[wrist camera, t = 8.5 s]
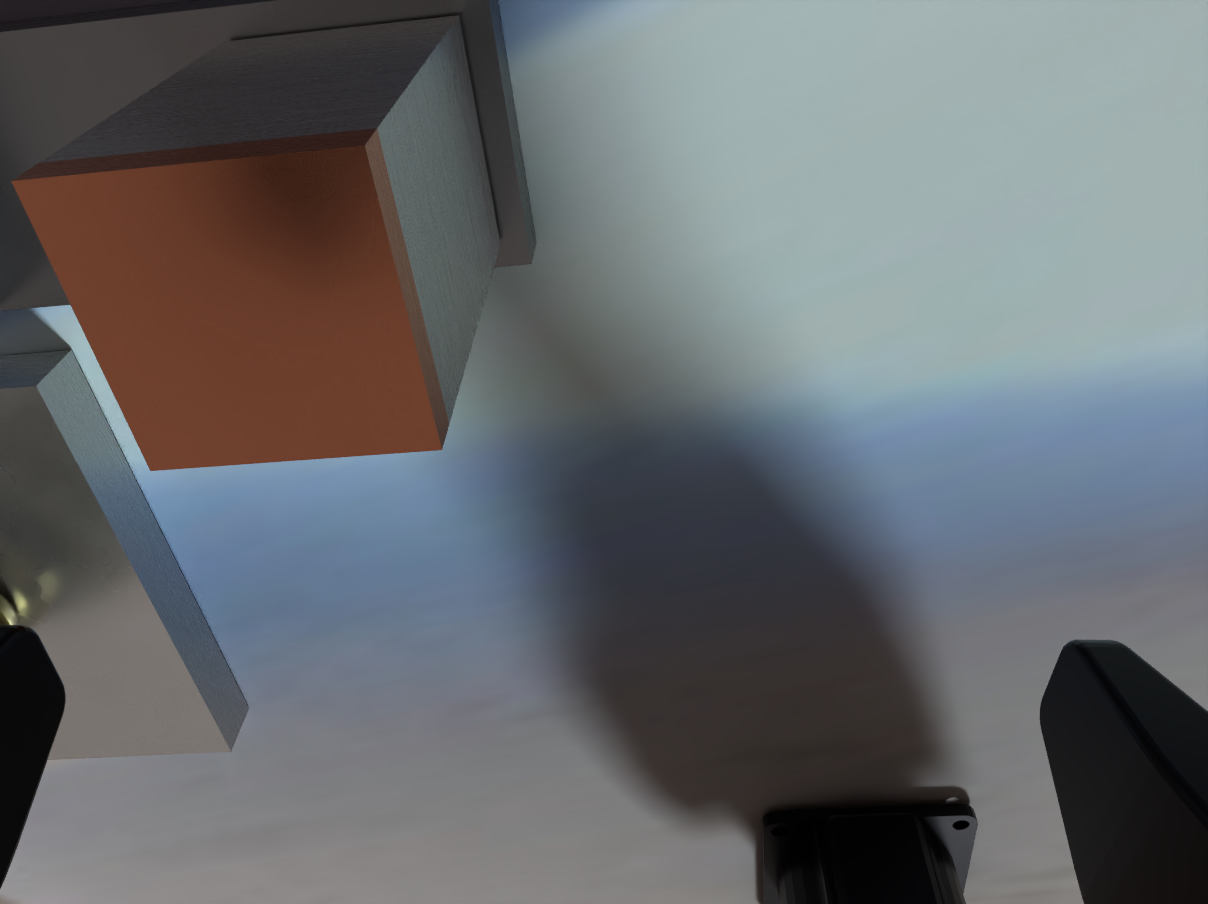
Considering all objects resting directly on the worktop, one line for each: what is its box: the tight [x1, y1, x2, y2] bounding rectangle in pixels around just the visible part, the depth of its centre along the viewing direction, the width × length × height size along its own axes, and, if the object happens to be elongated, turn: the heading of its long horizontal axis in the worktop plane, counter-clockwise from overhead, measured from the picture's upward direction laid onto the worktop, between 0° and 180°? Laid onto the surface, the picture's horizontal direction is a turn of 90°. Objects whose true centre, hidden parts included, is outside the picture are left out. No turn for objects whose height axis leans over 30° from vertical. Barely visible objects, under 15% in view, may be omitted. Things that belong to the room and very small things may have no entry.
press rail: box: [0, 0, 536, 311], centre depth 16 cm, size 5×12×4 cm, turn 96°
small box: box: [11, 15, 501, 471], centre depth 14 cm, size 4×4×7 cm
